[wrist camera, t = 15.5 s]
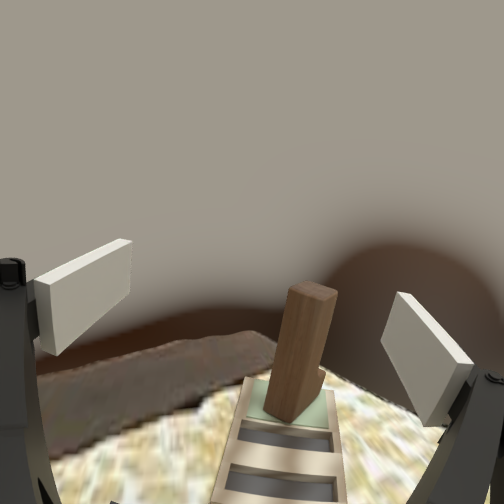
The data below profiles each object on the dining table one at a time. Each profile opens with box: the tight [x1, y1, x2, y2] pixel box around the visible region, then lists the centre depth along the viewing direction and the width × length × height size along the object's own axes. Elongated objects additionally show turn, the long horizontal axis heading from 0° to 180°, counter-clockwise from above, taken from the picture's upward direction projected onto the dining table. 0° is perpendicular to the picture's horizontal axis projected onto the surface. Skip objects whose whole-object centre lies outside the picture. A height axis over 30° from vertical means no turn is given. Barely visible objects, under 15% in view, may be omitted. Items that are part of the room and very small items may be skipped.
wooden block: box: [263, 281, 338, 424], centre depth 40 cm, size 9×4×18 cm, turn 144°
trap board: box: [210, 377, 348, 504], centre depth 35 cm, size 14×24×2 cm, turn 173°
